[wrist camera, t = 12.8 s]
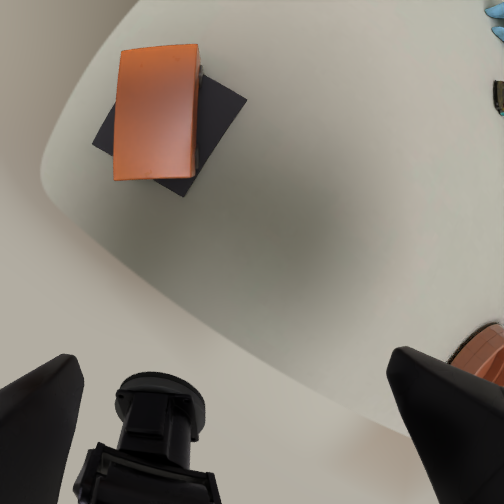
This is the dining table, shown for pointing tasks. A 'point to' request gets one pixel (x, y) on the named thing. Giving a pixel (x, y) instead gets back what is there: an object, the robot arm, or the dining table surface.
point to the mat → (207, 133)
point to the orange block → (157, 113)
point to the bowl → (484, 355)
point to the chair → (497, 12)
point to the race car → (499, 96)
